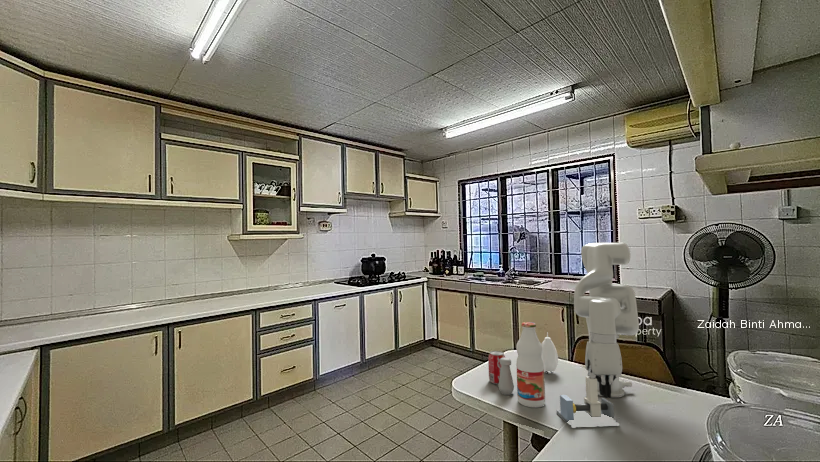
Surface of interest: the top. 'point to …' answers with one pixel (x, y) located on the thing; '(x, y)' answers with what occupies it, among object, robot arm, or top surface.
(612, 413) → the blue block with rod
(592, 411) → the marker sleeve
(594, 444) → the top surface
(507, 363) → the salt shaker
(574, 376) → the top surface
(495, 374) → the soda can
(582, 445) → the top surface
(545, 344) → the sauce bottle
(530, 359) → the fruit juice
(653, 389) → the top surface
